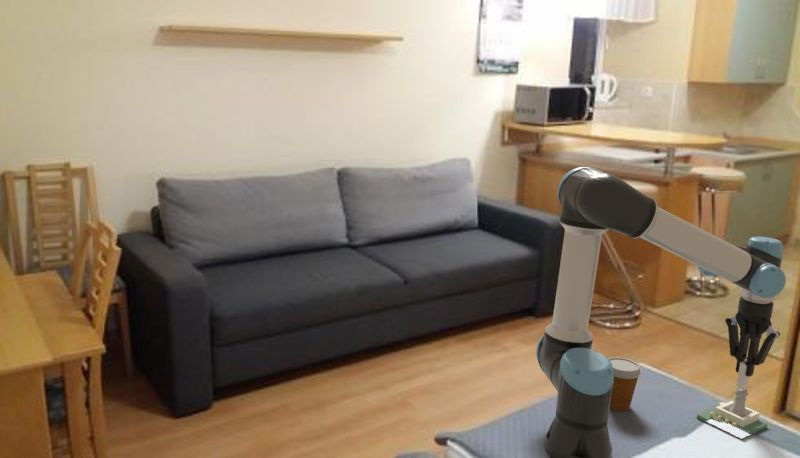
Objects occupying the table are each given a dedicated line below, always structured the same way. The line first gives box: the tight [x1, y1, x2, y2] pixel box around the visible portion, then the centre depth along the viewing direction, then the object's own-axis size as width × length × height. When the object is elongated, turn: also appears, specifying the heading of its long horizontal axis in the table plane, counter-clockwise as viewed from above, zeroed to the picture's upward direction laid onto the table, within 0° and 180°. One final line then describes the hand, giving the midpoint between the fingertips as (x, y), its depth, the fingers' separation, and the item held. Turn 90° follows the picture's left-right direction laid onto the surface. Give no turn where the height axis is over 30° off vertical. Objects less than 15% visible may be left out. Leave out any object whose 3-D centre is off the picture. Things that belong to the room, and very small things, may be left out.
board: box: [696, 400, 768, 435], centre depth 167 cm, size 12×12×3 cm
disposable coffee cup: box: [608, 356, 642, 412], centre depth 173 cm, size 10×10×12 cm
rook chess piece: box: [729, 386, 749, 417], centre depth 168 cm, size 4×4×8 cm
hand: (741, 385), depth 167 cm, fingers closed
